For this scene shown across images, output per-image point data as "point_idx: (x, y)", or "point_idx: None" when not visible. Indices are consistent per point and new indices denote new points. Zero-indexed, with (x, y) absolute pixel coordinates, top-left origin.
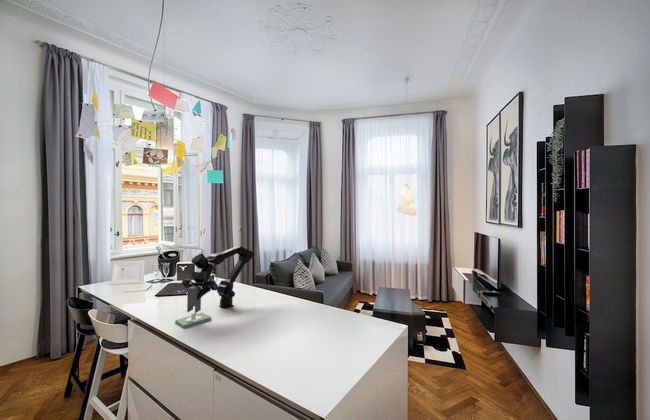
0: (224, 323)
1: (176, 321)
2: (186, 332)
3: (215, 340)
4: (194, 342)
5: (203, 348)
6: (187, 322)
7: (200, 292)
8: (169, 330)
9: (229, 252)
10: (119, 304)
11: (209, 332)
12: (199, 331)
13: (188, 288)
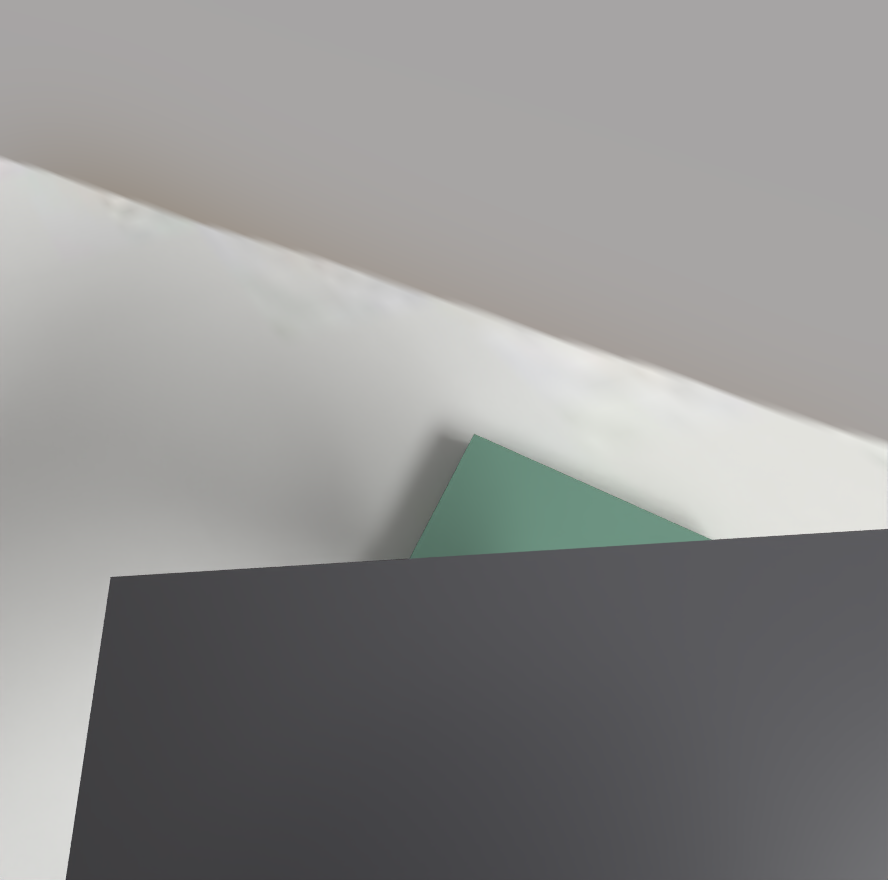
0: (63, 730)
1: (702, 539)
2: (386, 382)
3: (22, 323)
4: (187, 247)
5: (69, 197)
6: (501, 525)
7: None
8: (612, 372)
9: None
10: None
11: (144, 446)
12: (262, 439)
13: (886, 541)
